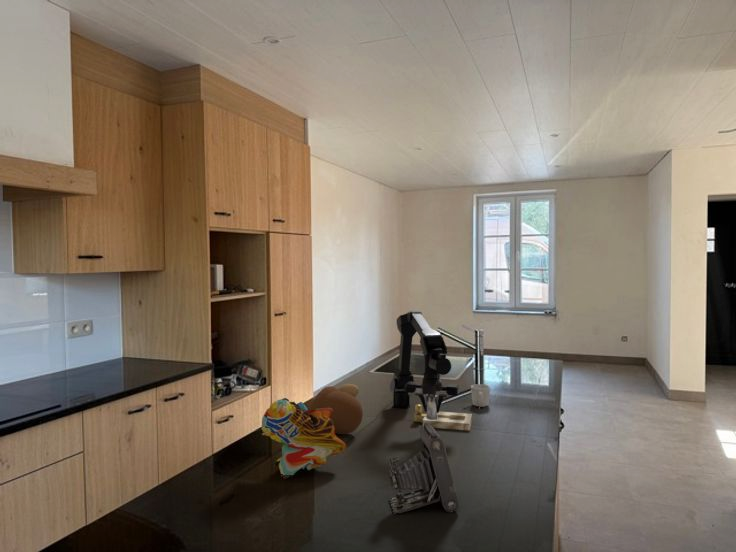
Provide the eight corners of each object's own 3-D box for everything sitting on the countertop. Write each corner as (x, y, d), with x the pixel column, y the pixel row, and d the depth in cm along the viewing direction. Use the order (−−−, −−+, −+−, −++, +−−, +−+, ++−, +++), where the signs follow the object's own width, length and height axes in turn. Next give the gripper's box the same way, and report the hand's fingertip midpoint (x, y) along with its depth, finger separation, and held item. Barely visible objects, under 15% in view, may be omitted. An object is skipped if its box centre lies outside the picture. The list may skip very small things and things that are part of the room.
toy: (304, 441, 186) (347, 461, 175) (287, 416, 176) (332, 436, 165) (339, 391, 199) (381, 407, 188) (325, 365, 189) (369, 380, 178)
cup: (490, 410, 207) (490, 391, 207) (470, 409, 209) (470, 390, 208) (489, 403, 218) (489, 384, 217) (470, 402, 219) (470, 383, 219)
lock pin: (414, 421, 193) (414, 405, 193) (415, 419, 196) (415, 403, 195) (430, 422, 191) (429, 406, 191) (431, 420, 194) (431, 404, 194)
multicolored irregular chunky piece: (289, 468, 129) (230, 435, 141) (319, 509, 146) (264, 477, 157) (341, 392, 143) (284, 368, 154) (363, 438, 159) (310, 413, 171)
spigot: (425, 419, 181) (425, 393, 181) (427, 415, 185) (427, 390, 184) (436, 420, 180) (436, 394, 179) (438, 416, 184) (438, 391, 183)
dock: (422, 426, 187) (422, 420, 187) (427, 417, 199) (427, 410, 199) (469, 430, 183) (469, 423, 183) (472, 420, 194) (472, 413, 194)
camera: (391, 511, 132) (371, 438, 131) (453, 491, 133) (434, 419, 132) (398, 534, 121) (376, 454, 120) (465, 512, 123) (444, 434, 121)
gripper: (401, 372, 176) (401, 417, 177) (456, 375, 171) (456, 421, 172) (407, 365, 187) (407, 407, 188) (459, 368, 182) (459, 411, 183)
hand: (431, 412), depth 182 cm, fingers closed on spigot, 4 cm apart
